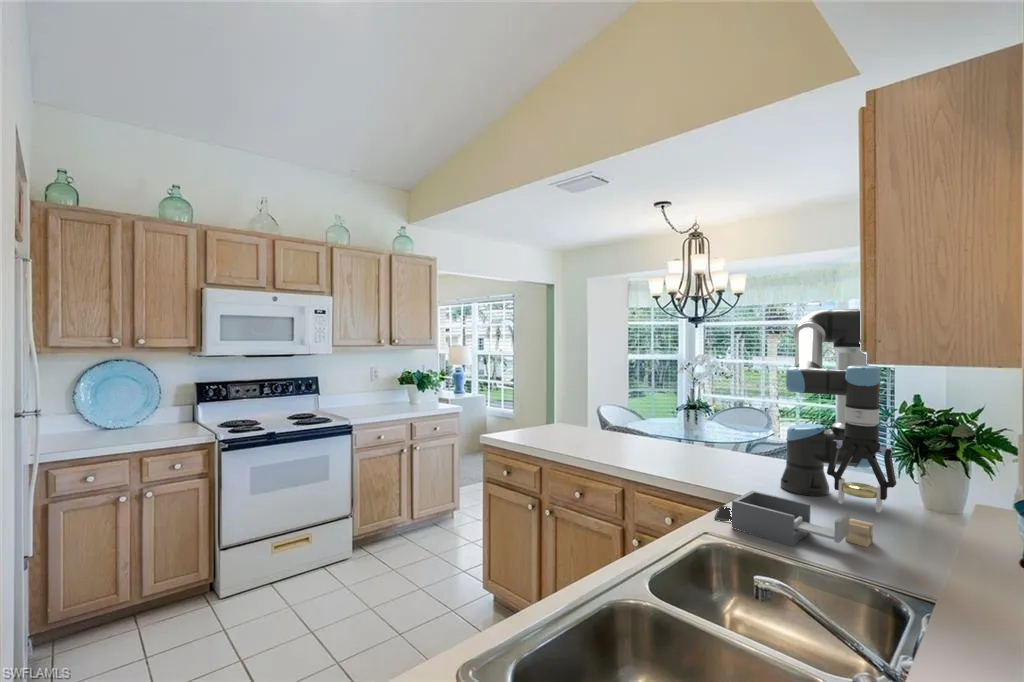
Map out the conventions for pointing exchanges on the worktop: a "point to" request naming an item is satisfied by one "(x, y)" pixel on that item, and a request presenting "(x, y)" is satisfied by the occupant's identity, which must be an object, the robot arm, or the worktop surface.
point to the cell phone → (723, 514)
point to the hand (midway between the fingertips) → (859, 506)
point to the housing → (770, 516)
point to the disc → (859, 490)
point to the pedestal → (860, 532)
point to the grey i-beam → (836, 534)
